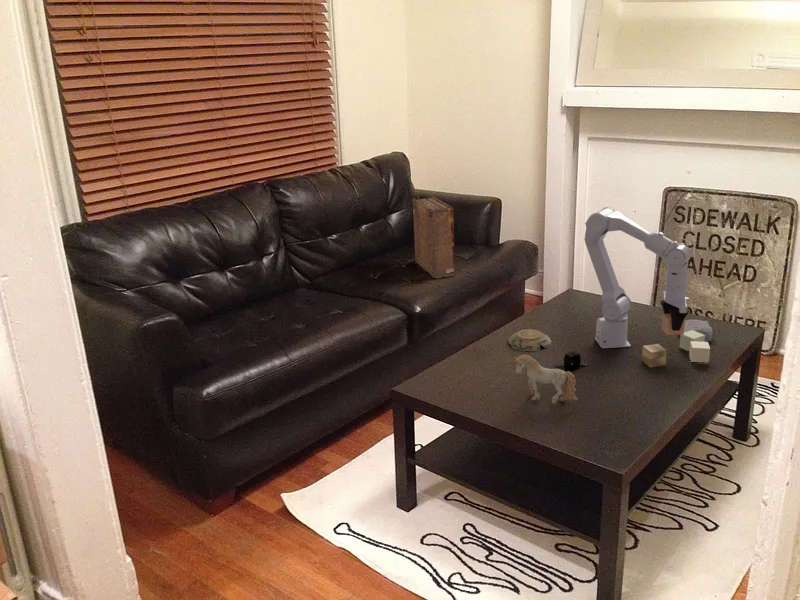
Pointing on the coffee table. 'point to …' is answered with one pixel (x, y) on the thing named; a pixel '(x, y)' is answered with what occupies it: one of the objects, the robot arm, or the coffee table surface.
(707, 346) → the cream cube
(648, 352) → the maple cube
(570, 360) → the black boxy device
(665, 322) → the terracotta cube
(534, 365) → the unicorn figurine
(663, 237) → the robot arm
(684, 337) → the sage cube
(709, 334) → the stone block
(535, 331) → the decorative bowl
